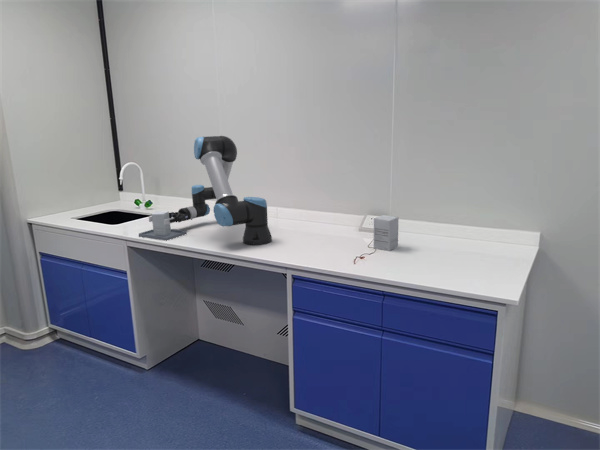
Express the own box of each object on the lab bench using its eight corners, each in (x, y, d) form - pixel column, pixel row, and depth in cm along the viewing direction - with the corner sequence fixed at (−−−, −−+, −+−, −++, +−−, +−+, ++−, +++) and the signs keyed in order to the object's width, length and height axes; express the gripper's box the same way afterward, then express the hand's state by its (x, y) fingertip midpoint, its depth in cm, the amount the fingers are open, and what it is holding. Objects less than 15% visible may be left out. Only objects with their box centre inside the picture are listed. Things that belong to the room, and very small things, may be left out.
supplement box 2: (381, 243, 212) (382, 214, 208) (398, 246, 206) (399, 216, 203) (372, 248, 205) (373, 218, 202) (389, 251, 200) (390, 220, 196)
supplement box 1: (171, 232, 244) (169, 211, 241) (166, 236, 237) (163, 214, 234) (159, 232, 245) (156, 211, 242) (153, 236, 238) (150, 214, 235)
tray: (186, 234, 242) (186, 231, 242) (166, 240, 229) (166, 237, 229) (159, 230, 253) (158, 227, 252) (138, 236, 240) (138, 233, 240)
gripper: (201, 222, 247) (171, 230, 230) (174, 217, 261) (144, 224, 245) (200, 209, 245) (170, 216, 228) (173, 205, 259) (142, 212, 243)
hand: (156, 220), depth 236 cm, fingers open, 13 cm apart
